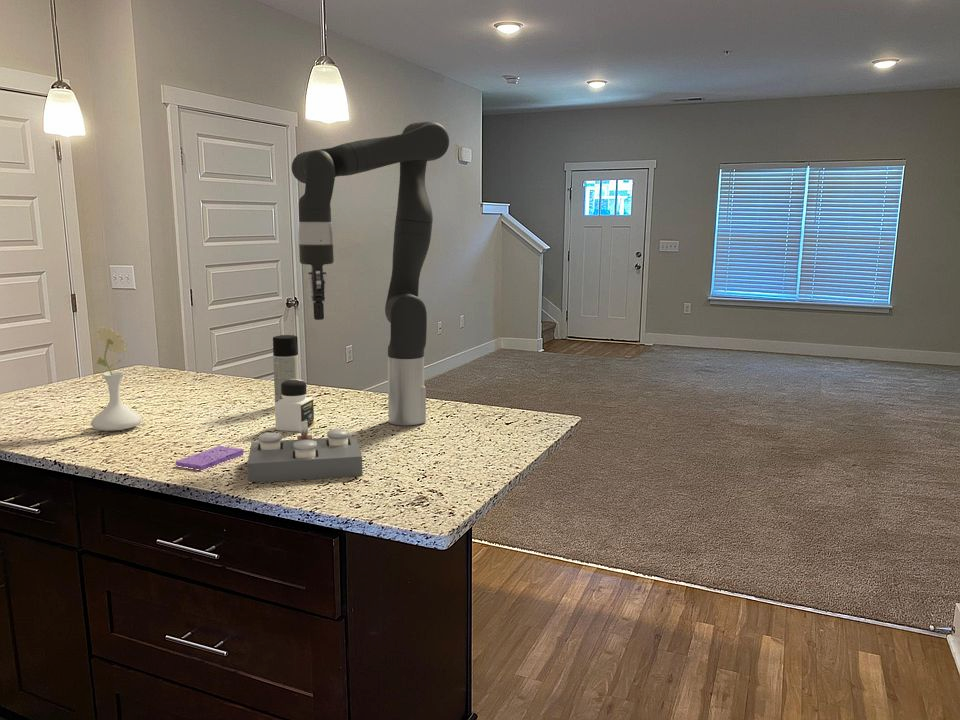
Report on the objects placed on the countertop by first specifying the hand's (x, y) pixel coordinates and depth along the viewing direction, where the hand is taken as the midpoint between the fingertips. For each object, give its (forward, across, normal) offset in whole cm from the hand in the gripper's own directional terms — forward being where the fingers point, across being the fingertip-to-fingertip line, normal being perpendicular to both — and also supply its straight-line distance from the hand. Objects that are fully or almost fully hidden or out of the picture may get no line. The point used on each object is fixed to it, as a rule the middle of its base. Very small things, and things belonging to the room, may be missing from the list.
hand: (318, 319), depth 166 cm
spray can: (+29, +34, +8) cm, 46 cm away
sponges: (+29, -11, +24) cm, 39 cm away
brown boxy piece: (+24, -16, +5) cm, 30 cm away
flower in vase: (+28, +22, +49) cm, 61 cm away
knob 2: (+28, -17, -2) cm, 33 cm away
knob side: (+28, -23, +5) cm, 37 cm away
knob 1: (+28, -16, +12) cm, 34 cm away
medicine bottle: (+29, +12, +6) cm, 32 cm away
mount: (+28, -20, +5) cm, 35 cm away
